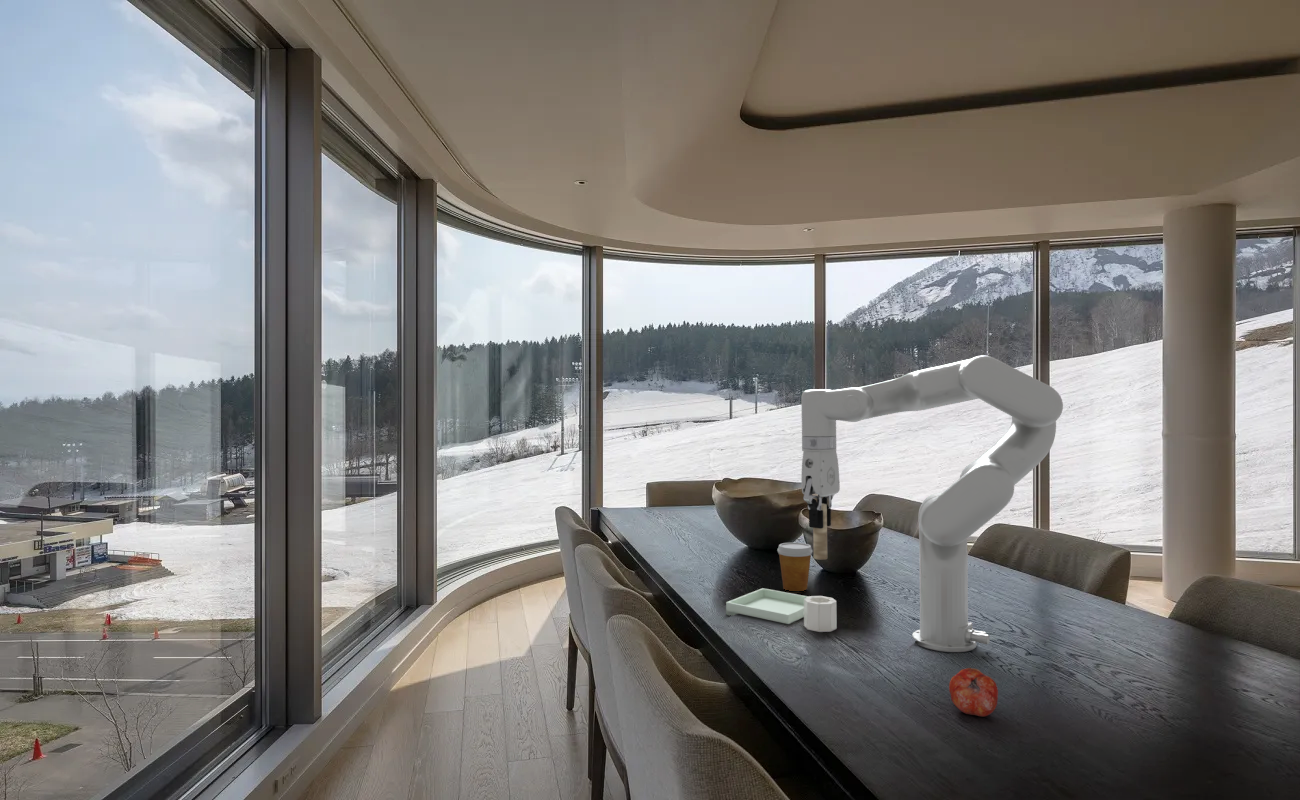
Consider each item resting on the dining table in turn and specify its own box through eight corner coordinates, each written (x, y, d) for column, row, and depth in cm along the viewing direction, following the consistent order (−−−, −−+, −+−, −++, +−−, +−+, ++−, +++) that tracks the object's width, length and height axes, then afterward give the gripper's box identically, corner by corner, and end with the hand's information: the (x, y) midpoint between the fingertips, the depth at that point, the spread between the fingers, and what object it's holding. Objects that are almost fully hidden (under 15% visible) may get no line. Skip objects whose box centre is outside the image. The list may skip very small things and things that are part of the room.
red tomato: (948, 715, 124) (939, 695, 117) (959, 674, 127) (950, 653, 120) (995, 732, 119) (988, 712, 113) (1005, 689, 123) (999, 667, 116)
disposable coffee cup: (810, 585, 203) (810, 542, 203) (815, 594, 194) (814, 549, 194) (776, 584, 204) (775, 542, 204) (778, 593, 195) (778, 548, 195)
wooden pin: (829, 557, 163) (828, 504, 163) (823, 560, 160) (822, 505, 160) (817, 556, 165) (816, 503, 165) (811, 558, 162) (810, 504, 162)
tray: (823, 611, 178) (823, 599, 178) (788, 628, 165) (788, 615, 165) (762, 599, 189) (762, 588, 189) (726, 614, 176) (726, 602, 176)
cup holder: (840, 630, 163) (840, 599, 163) (827, 638, 158) (827, 605, 158) (813, 624, 167) (813, 594, 167) (799, 632, 162) (799, 600, 162)
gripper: (817, 446, 154) (818, 533, 154) (850, 443, 166) (851, 523, 166) (786, 445, 159) (787, 530, 159) (820, 442, 171) (821, 520, 171)
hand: (820, 525), depth 163 cm, fingers closed on wooden pin, 3 cm apart
